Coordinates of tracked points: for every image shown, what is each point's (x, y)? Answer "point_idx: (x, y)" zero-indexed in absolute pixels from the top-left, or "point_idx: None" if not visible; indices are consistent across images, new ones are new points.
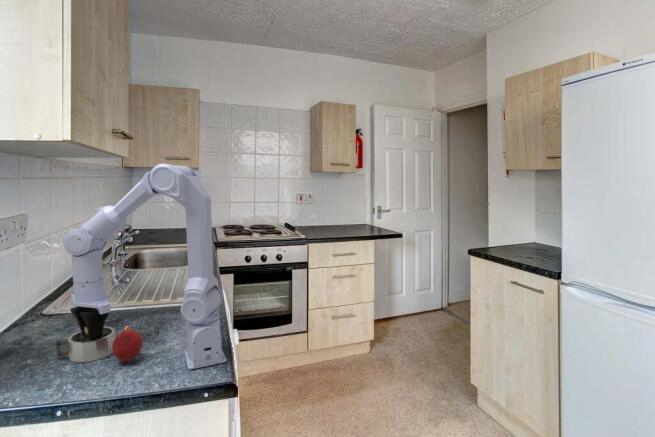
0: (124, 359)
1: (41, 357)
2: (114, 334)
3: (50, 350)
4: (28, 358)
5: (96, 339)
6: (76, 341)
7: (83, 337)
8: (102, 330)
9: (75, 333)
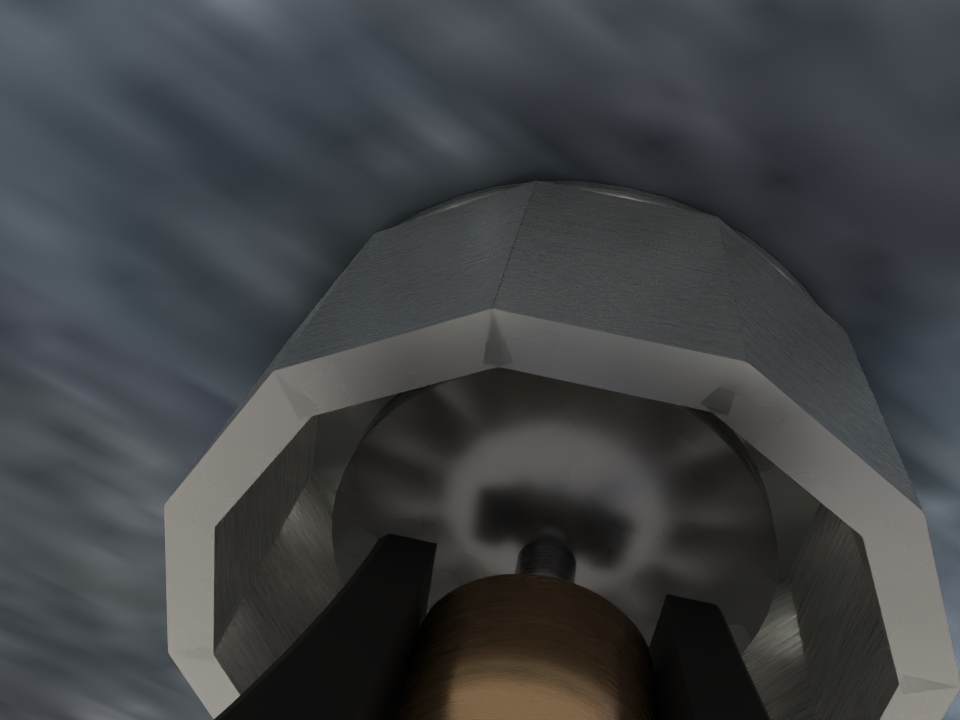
0: None
1: (127, 663)
2: (892, 465)
3: (6, 545)
4: (47, 700)
5: (505, 484)
6: (296, 616)
7: (259, 527)
8: (762, 711)
9: (213, 698)
